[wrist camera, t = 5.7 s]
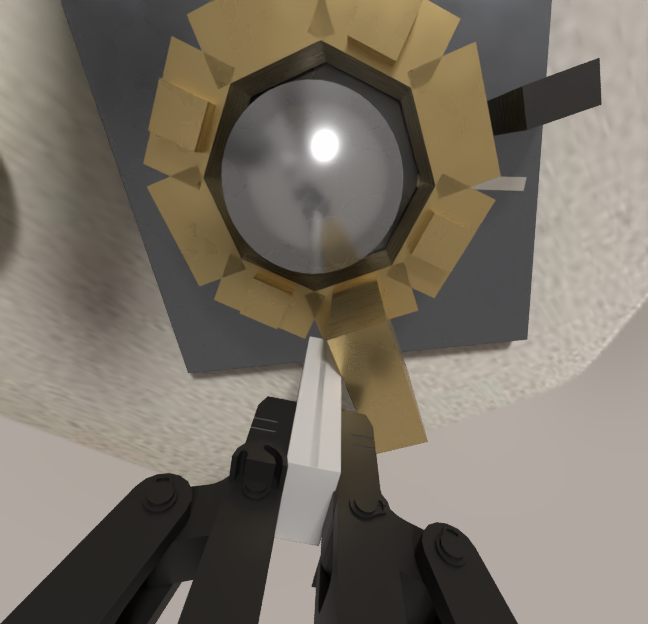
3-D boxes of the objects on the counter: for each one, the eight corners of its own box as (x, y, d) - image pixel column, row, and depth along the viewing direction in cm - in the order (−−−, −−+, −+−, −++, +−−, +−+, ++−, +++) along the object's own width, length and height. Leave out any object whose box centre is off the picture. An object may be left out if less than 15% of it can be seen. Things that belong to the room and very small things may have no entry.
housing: (195, 363, 23) (135, 443, 17) (67, -27, 16) (-134, -162, 9) (517, 330, 21) (595, 407, 14) (546, -145, 14) (736, -435, 7)
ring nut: (130, 84, 16) (-51, 22, 9) (425, -67, 14) (515, -331, 6) (274, 377, 22) (237, 486, 14) (503, 309, 19) (599, 401, 12)
